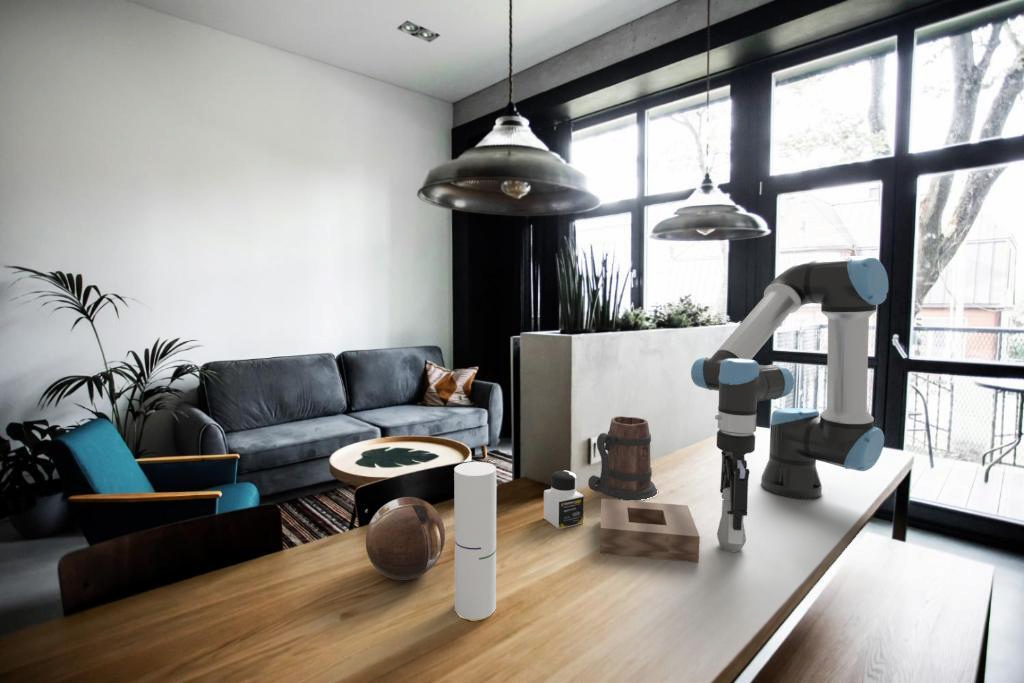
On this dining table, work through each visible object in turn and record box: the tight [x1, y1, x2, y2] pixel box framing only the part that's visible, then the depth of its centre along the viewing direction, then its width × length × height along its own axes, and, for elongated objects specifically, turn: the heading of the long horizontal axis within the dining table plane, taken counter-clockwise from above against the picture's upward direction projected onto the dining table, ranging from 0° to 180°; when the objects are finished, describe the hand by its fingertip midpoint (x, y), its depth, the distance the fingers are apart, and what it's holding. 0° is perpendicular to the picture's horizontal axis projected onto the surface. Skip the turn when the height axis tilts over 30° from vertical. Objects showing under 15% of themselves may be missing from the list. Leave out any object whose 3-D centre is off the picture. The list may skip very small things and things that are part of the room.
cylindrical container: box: [453, 461, 497, 620], centre depth 87 cm, size 7×7×25 cm
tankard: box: [587, 415, 658, 501], centre depth 142 cm, size 24×17×20 cm
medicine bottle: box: [543, 469, 585, 530], centre depth 123 cm, size 7×7×12 cm
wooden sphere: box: [365, 496, 446, 581], centre depth 99 cm, size 15×15×15 cm
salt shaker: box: [716, 488, 747, 553], centre depth 110 cm, size 6×6×13 cm
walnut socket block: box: [599, 498, 701, 563], centre depth 114 cm, size 20×16×6 cm
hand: (731, 535), depth 111 cm, fingers closed on salt shaker, 6 cm apart
